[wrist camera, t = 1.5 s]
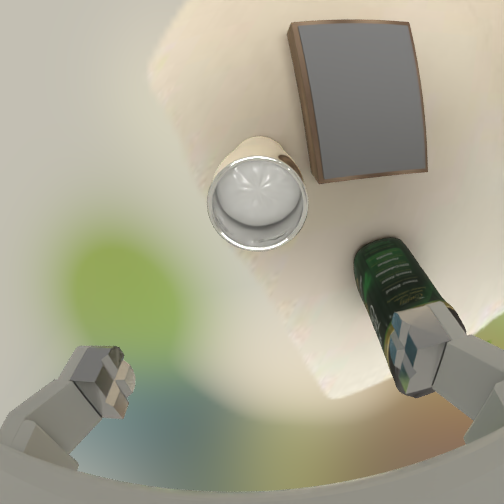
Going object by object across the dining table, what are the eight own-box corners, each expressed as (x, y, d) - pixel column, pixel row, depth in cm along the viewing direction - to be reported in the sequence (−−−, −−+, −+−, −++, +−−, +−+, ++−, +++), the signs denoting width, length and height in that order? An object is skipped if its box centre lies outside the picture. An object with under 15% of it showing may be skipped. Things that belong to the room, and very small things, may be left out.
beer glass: (225, 133, 32) (198, 156, 18) (290, 130, 31) (311, 150, 18) (230, 194, 35) (209, 256, 21) (291, 191, 34) (310, 252, 21)
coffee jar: (345, 247, 37) (396, 355, 21) (402, 228, 36) (480, 319, 19) (359, 305, 41) (398, 413, 25) (409, 288, 40) (466, 385, 23)
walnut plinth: (390, 31, 25) (410, 21, 20) (408, 162, 32) (429, 172, 27) (287, 34, 26) (291, 21, 21) (311, 172, 33) (319, 185, 29)
